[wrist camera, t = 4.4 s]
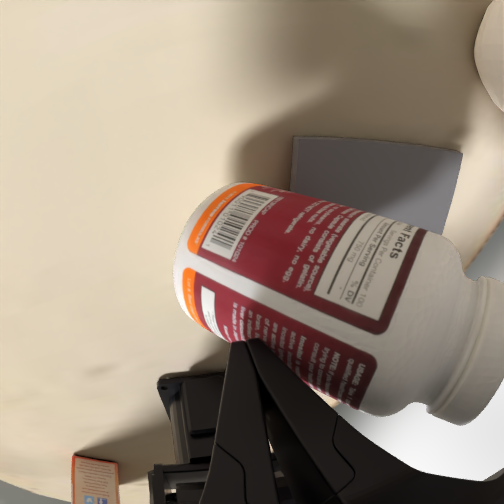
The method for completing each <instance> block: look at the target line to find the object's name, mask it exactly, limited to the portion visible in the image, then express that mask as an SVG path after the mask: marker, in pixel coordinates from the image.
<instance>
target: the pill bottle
mask: <svg viewBox="0 0 504 504" xmlns="http://www.w3.org/2000/svg"><path fill="white" fill-rule="evenodd" d="M173 276H174V287H175V292H176V295H177V299H178V301H179V303H180V305H181V307H182V309H183V310H184V311H185V313H186V314H187V315H188V316H189V317H190V318H191V319H193V320H194V321H195V322H197V323H198V324H200V325H201V326H202V327H204V328H205V329H207V330H209V331H210V332H212V333H214V334H216V335H218V336H219V337H221V338H222V339H224V340H226V341H227V342H229V343H231V342H233V341H240V340H244V341H246V340H247V339H252V338H260V339H261V340H262V341H263V342H264V343H265V344H266V345H267V346H268V347H269V348H270V349H271V350H272V351H273V352H274V353H275V354H276V355H277V356H278V357H279V358H280V359H281V360H282V361H283V362H284V363H285V364H286V365H287V366H288V367H289V368H290V369H291V370H292V371H293V372H294V373H295V374H297V375H298V376H299V377H300V378H301V379H302V380H303V381H304V382H305V383H306V384H307V385H308V386H309V387H311V388H313V389H315V390H317V391H319V392H321V393H323V394H325V395H327V396H330V397H332V398H334V399H336V400H338V401H340V402H342V403H344V404H346V405H348V406H350V407H352V408H354V409H356V410H359V411H362V412H364V413H367V414H369V415H371V416H376V417H384V416H389V415H392V414H395V413H397V412H398V411H400V410H402V409H403V408H405V407H406V406H407V405H408V404H410V403H413V402H419V403H423V404H426V405H427V409H426V410H427V412H428V413H429V414H432V415H433V416H435V417H438V418H440V419H443V420H446V421H448V422H450V423H453V424H456V425H460V426H461V425H466V424H468V423H470V422H471V421H472V420H474V419H475V418H476V417H477V416H478V415H479V414H480V413H481V412H482V411H483V410H484V408H485V407H486V406H487V404H488V403H489V402H490V400H491V399H492V397H493V396H494V394H495V392H496V391H497V389H498V388H499V386H500V384H501V382H502V380H503V378H504V283H502V282H500V281H498V280H496V279H494V278H490V277H488V278H486V277H484V276H481V277H479V278H478V280H477V281H473V280H471V279H469V278H467V277H466V276H465V274H464V273H463V269H462V262H461V258H460V255H459V253H458V251H457V249H456V247H455V246H454V245H453V243H452V242H451V241H449V240H448V239H447V238H445V237H443V236H442V235H439V234H436V233H433V232H430V231H428V230H425V229H422V228H418V227H415V226H412V225H408V224H405V223H402V222H399V221H395V220H392V219H389V218H386V217H382V216H379V215H375V214H372V213H369V212H365V211H362V210H358V209H355V208H351V207H348V206H344V205H340V204H336V203H333V202H329V201H325V200H322V199H318V198H314V197H310V196H305V195H302V194H298V193H294V192H290V191H286V190H281V189H277V188H273V187H269V186H265V185H260V184H254V183H245V182H240V183H233V184H230V185H227V186H225V187H222V188H220V189H218V190H217V191H215V192H214V193H212V194H211V195H210V196H208V197H207V198H206V199H205V200H204V201H203V202H202V203H201V204H200V205H199V206H198V207H197V208H196V210H195V211H194V212H193V214H192V215H191V216H190V218H189V219H188V221H187V223H186V225H185V227H184V229H183V232H182V234H181V236H180V239H179V242H178V246H177V250H176V254H175V259H174V268H173Z"/></svg>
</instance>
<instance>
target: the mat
mask: <svg viewBox="0 0 504 504" xmlns="http://www.w3.org/2000/svg"><path fill="white" fill-rule="evenodd" d="M462 157H463V153H460V152H458V151H456V150H450V149H444V148H437V147H430V146H423V145H415V144H407V143H398V142H389V141H379V140H367V139H353V138H337V137H313V136H294V138H293V152H292V166H291V179H290V192H294V193H298V194H302V195H305V196H310V197H314V198H318V199H322V200H325V201H329V202H333V203H336V204H340V205H344V206H348V207H351V208H355V209H358V210H362V211H365V212H369V213H372V214H375V215H379V216H382V217H386V218H389V219H392V220H395V221H399V222H402V223H405V224H408V225H412V226H415V227H418V228H422V229H425V230H428V231H430V232H433V233H436V234H439V235H442V232H443V229H444V226H445V222H446V219H447V216H448V212H449V209H450V205H451V202H452V198H453V194H454V191H455V187H456V183H457V179H458V175H459V170H460V166H461V161H462Z"/></svg>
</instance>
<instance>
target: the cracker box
mask: <svg viewBox="0 0 504 504" xmlns="http://www.w3.org/2000/svg"><path fill="white" fill-rule="evenodd" d="M71 504H120V496H119V479H118V464H117V463H113V462H107V461H101V460H95V459H90V458H85V457H80V456H74V455H73V456H72V471H71Z"/></svg>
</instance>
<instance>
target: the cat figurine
mask: <svg viewBox="0 0 504 504" xmlns="http://www.w3.org/2000/svg"><path fill="white" fill-rule="evenodd" d="M474 58H475V63H476V66H477V70H478V73H479V76H480V78H481V80H482V83H483V85H484V87H485V88H486V90H487V92H488V94H489V96H490V98H491V99H492V101H493V102H494V103H495V104H496V105H497V106H498V107H499V108H500V109H501V110H502V111H503V112H504V0H494V1H492V2H491V4H490V5H489V6H488V8H487V10H486V12H485V15H484V17H483V20H482V22H481V25H480V28H479V30H478V34H477V37H476V41H475V47H474Z"/></svg>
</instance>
